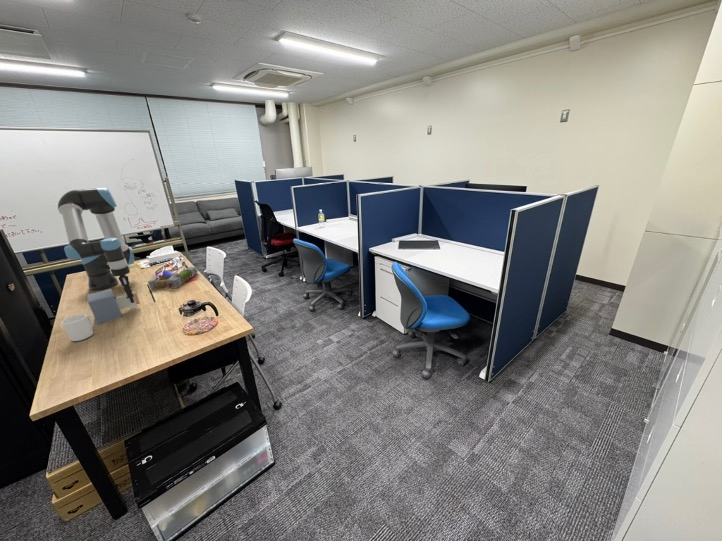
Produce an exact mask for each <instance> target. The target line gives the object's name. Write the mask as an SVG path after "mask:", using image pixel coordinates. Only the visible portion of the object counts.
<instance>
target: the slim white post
mask: <svg viewBox="0 0 722 541" xmlns="http://www.w3.org/2000/svg"><path fill="white" fill-rule="evenodd" d="M132 294H133V295H134V298H135V301H136V304H137V305H141V302H140V300H139V296H138V293H137V292H136V291H134V292H132ZM126 297H127V294H126V293H125V294H123V295H120V296H117V297H116V299H115V300H116V303H117V305H118V308H119V310H120V311H121V310H122V309H127V308H129V307H131V305H130V303H129V300H128V298H127V299H126Z"/></svg>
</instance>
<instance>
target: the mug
mask: <svg viewBox="0 0 722 541" xmlns="http://www.w3.org/2000/svg"><path fill="white" fill-rule="evenodd" d="M88 317H90V321H89V319H88ZM60 324H61V325H62V326H63V328H64V329H65V331H66V333H67V335H68V337H69V338H70V340H71V342H74V343H79V342H82V341H85V340H88V339H90V338H92V337H93V336H94V331H93V328H94V315H93V314H91V313H90V314H86V313H79V314H74V315H71V316H68V317H66V318H65V319H63V320H61V321H60Z"/></svg>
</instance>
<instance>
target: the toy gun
mask: <svg viewBox="0 0 722 541" xmlns="http://www.w3.org/2000/svg"><path fill="white" fill-rule="evenodd" d="M198 272H200V270H199V269H197V267H196V266H188V267H187V268H185V269H184V270H182V271H180V272H179V273H177V274H174V275H173V276H171V277H169V276H167V275H166V274H160V275H159V274H158V275H156V276H157V277H156V276H155V277H154V278H152V279H150V280H149V281H147V283H148V286H149V288H150V289H149V290H151V291H154V290H157V289H158V288H159V289H160V288H166V287H168V289H177V288H178V287H180V286H182V285H183V284H184V283H186V282H187V281H188V280H189V279H188V278H189V277H190V276H192V275H195V274H197V273H198ZM197 275H198V274H197ZM195 276H196V275H195ZM187 279H188V280H187Z"/></svg>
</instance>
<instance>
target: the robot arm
mask: <svg viewBox="0 0 722 541" xmlns="http://www.w3.org/2000/svg"><path fill="white" fill-rule="evenodd" d="M117 206H118V205H117V202H116V201H115V198H114V197H113V195H112V193H111V191H110V190H109V189H108V188H106V187H100V188H99V187H95V188H86V189H85V188H83V189H73V190H70V191H68V192H66V193H64V194H63V195H62V196H61V198H59V201H58V204H57V210H58V212H59V214H60V215H62V219H63V224H64V227H65V232H66V237H67V240H68V241H67V242H68V245H66V246H64V247H63V250H64V253H65V256H66V258H67V259H69V260H70V261H74V260H80V261H81V265H82V266H83V269H84V271H85V273H86V276H87V277H88V285H87V286H88V288H89V290H90V291H99V290H101V291H103V290H107V289H110V288H111V287H114V286H116V285H117V284H119V282H120V284H121V286H122V287H123V288H124V289H123V290H124V292H125V295H126V294H127V297H126V299H127V298H128V300H129V303H130V305H131V306H130V307H131V309H135V308H137V307H138V304H136V301H135V298H134V295H133V294H132V293H133V292H132V291H133V288H131V286H130V285H131V283H130V280H129V276H128V274H130V273H131V270H130V267H129V265H133V264H135V257H134V252H133V247H130V246H129V245H128V244H125V241H124V238H123V236H122V233H121V231H120V228H119V225H118V222H117V220H116V217H115V215H114V212H115V210H116V207H117ZM88 210H89V212H90V213H91V214H93V215H95V218H96V220H97V222H98V225H99V228H100V230H101V232H102V235H103V237H104V239H101V240H96V241H89V238H88V235H87V231H86V228H85V227H86V226H85V224H84V221H83V216H82V214H83V211H88ZM117 277H118V278H117Z"/></svg>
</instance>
